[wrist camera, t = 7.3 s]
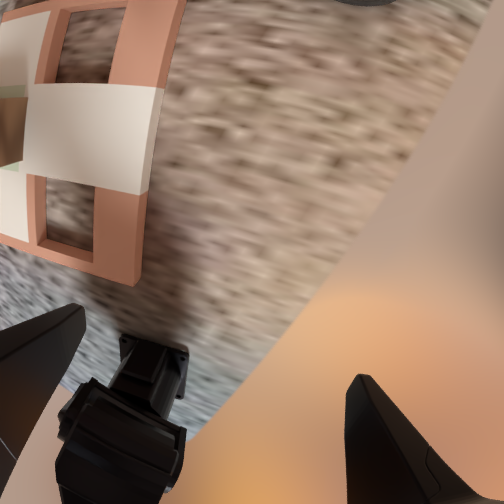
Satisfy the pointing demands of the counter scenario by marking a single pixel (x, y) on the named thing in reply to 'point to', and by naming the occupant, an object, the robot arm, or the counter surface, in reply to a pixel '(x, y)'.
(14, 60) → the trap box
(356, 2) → the smart speaker
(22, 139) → the walnut block
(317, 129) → the counter surface
